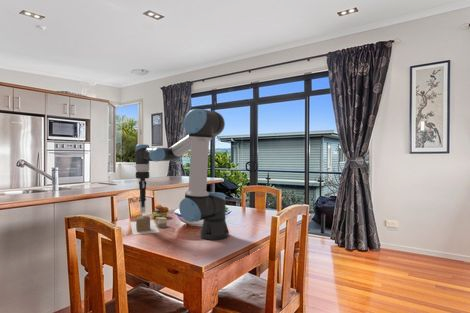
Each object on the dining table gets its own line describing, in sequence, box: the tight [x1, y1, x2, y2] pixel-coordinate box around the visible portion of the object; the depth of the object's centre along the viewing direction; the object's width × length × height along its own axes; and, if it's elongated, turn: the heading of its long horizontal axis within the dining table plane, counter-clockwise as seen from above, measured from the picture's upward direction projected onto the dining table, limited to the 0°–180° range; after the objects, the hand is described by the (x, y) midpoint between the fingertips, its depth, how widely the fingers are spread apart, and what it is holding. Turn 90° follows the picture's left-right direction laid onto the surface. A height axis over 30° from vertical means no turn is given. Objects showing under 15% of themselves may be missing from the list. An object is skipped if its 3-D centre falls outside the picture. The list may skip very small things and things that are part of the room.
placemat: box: [129, 219, 160, 236], centre depth 176 cm, size 32×14×1 cm, turn 22°
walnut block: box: [135, 215, 151, 232], centre depth 169 cm, size 7×7×7 cm
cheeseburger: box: [150, 204, 169, 220], centre depth 202 cm, size 10×11×10 cm
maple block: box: [154, 217, 168, 229], centre depth 178 cm, size 5×5×5 cm
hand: (142, 212), depth 172 cm, fingers closed
